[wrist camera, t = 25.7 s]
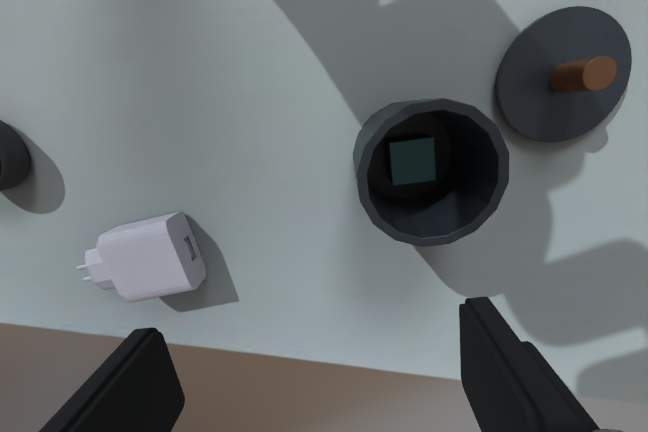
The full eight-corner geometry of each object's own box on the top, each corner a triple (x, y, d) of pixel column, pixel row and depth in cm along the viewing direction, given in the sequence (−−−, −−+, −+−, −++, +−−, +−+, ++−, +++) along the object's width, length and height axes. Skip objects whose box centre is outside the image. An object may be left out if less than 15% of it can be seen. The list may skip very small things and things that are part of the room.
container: (347, 110, 37) (349, 112, 25) (455, 93, 36) (511, 87, 24) (359, 209, 40) (365, 253, 28) (458, 197, 39) (507, 237, 27)
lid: (494, 22, 33) (525, 4, 27) (630, -2, 32) (694, -26, 26) (493, 148, 37) (520, 156, 31) (614, 131, 36) (667, 136, 30)
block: (383, 138, 37) (388, 142, 33) (424, 132, 37) (434, 136, 32) (387, 177, 38) (392, 186, 34) (426, 172, 38) (436, 180, 34)
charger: (78, 234, 44) (183, 209, 42) (109, 294, 46) (208, 273, 44) (48, 248, 39) (163, 222, 37) (84, 314, 42) (193, 292, 40)
